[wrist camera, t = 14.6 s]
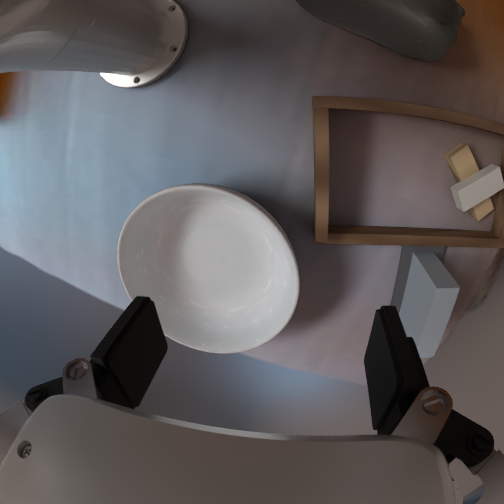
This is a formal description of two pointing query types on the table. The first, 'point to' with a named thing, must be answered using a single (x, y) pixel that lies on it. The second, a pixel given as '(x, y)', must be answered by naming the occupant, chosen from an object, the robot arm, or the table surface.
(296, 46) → the table surface
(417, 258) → the light grey block
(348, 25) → the rock
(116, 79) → the robot arm
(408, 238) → the wooden tray
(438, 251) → the mat
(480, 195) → the offcut upper
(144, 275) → the serving bowl
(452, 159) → the offcut lower
